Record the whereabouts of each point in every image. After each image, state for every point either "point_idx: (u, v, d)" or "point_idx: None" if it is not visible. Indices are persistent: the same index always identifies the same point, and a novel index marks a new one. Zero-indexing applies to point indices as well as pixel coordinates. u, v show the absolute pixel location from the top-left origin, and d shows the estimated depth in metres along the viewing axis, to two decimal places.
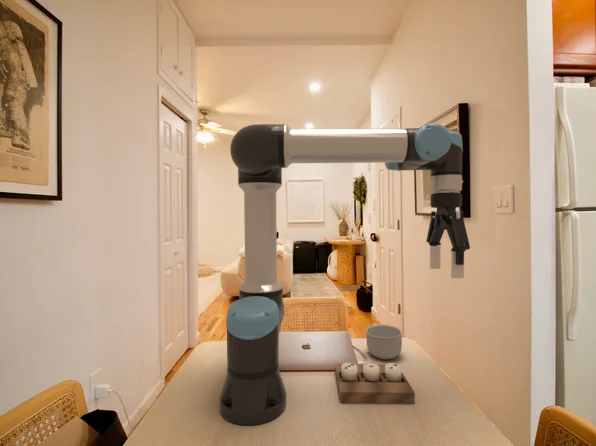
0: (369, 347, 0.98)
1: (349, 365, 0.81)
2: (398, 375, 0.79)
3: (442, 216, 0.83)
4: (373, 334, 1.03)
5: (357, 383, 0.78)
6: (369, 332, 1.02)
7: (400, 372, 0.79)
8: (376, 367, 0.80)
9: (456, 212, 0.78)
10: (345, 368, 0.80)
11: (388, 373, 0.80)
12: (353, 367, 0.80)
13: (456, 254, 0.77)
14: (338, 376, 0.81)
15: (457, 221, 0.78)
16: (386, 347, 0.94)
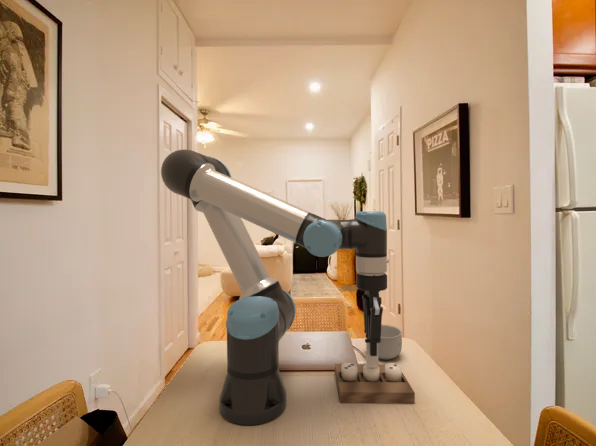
0: None
1: (349, 365, 0.81)
2: (398, 375, 0.79)
3: (366, 301, 0.79)
4: None
5: (357, 383, 0.78)
6: None
7: (400, 372, 0.79)
8: (376, 368, 0.80)
9: (375, 311, 0.74)
10: (345, 368, 0.80)
11: (388, 373, 0.80)
12: (353, 367, 0.80)
13: (370, 345, 0.79)
14: (338, 376, 0.81)
15: (375, 318, 0.75)
16: (386, 347, 0.94)
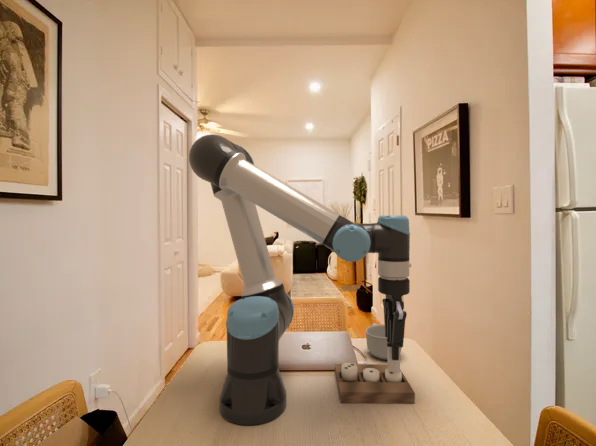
0: (369, 347, 0.98)
1: (349, 365, 0.81)
2: (398, 380, 0.79)
3: (388, 305, 0.79)
4: (373, 334, 1.03)
5: (357, 383, 0.78)
6: (369, 332, 1.02)
7: (400, 377, 0.79)
8: (376, 372, 0.80)
9: (399, 315, 0.74)
10: (345, 368, 0.80)
11: (388, 378, 0.80)
12: (353, 367, 0.80)
13: (392, 349, 0.79)
14: (338, 376, 0.81)
15: (398, 322, 0.75)
16: (386, 347, 0.94)
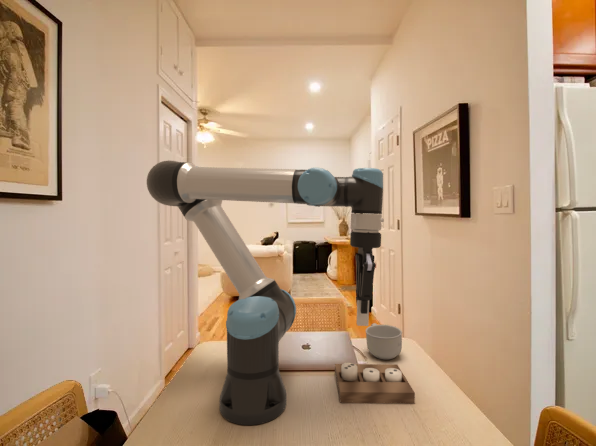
0: (369, 347, 0.98)
1: (349, 365, 0.81)
2: (398, 380, 0.79)
3: (359, 258, 0.79)
4: (373, 334, 1.03)
5: (357, 383, 0.78)
6: (369, 332, 1.02)
7: (400, 377, 0.79)
8: (376, 372, 0.80)
9: (368, 266, 0.74)
10: (345, 368, 0.80)
11: (388, 379, 0.80)
12: (353, 367, 0.80)
13: (361, 303, 0.79)
14: (338, 376, 0.81)
15: (367, 273, 0.75)
16: (386, 347, 0.94)
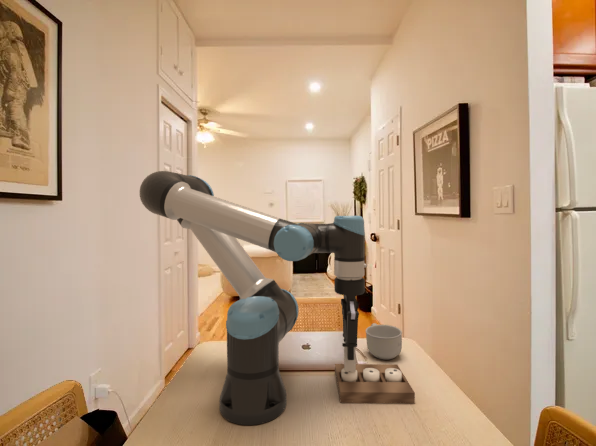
0: (369, 347, 0.98)
1: None
2: (398, 380, 0.79)
3: (343, 305, 0.79)
4: (373, 334, 1.03)
5: (357, 383, 0.78)
6: (369, 332, 1.02)
7: (400, 377, 0.79)
8: (376, 372, 0.80)
9: (351, 315, 0.74)
10: (345, 373, 0.80)
11: (388, 379, 0.80)
12: (353, 372, 0.80)
13: (347, 349, 0.80)
14: (338, 376, 0.81)
15: (351, 322, 0.76)
16: (386, 347, 0.94)
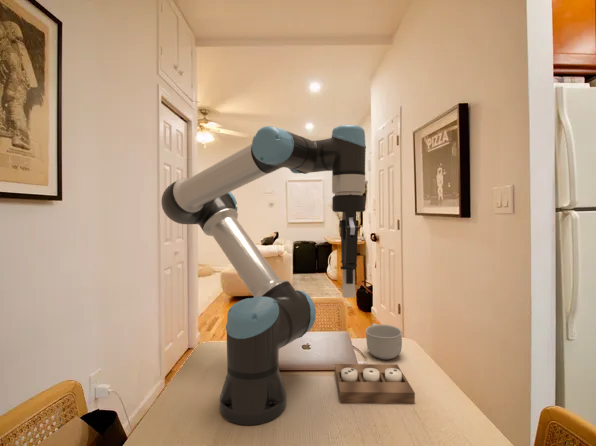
0: (369, 347, 0.98)
1: (349, 370, 0.81)
2: (398, 380, 0.79)
3: (342, 224, 0.72)
4: (373, 334, 1.03)
5: (357, 383, 0.78)
6: (369, 332, 1.02)
7: (400, 377, 0.79)
8: (376, 372, 0.80)
9: (350, 229, 0.68)
10: (345, 373, 0.80)
11: (388, 379, 0.80)
12: (353, 373, 0.80)
13: (346, 272, 0.73)
14: (338, 376, 0.81)
15: (350, 238, 0.69)
16: (386, 347, 0.94)
